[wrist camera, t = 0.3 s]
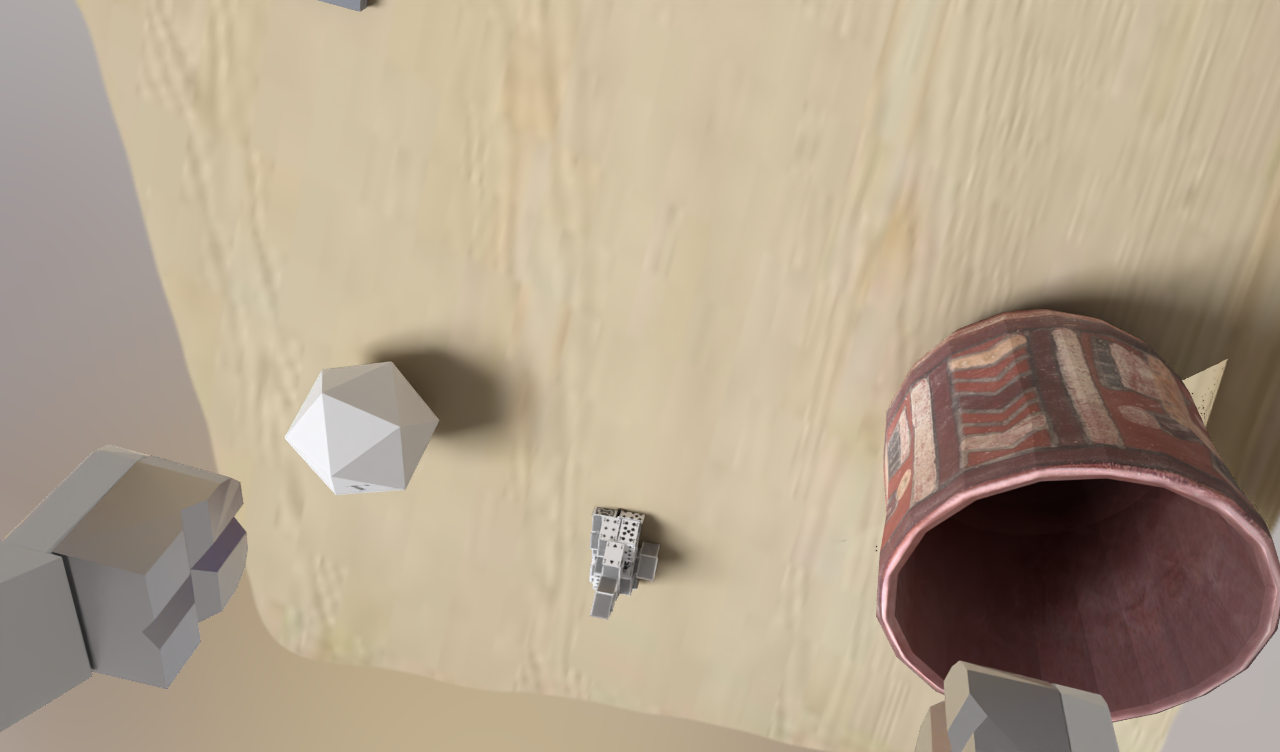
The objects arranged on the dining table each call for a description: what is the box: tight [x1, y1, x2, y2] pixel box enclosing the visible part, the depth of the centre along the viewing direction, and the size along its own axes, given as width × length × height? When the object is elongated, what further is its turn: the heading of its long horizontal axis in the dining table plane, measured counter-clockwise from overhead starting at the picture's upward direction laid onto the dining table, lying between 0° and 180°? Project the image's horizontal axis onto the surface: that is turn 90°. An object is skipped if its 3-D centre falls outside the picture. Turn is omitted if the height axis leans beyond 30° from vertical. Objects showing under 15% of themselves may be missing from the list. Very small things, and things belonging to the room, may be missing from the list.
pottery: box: [876, 309, 1280, 722], centre depth 54 cm, size 18×18×18 cm
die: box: [285, 361, 439, 495], centre depth 67 cm, size 8×9×10 cm
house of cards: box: [589, 507, 660, 620], centre depth 73 cm, size 9×9×8 cm
